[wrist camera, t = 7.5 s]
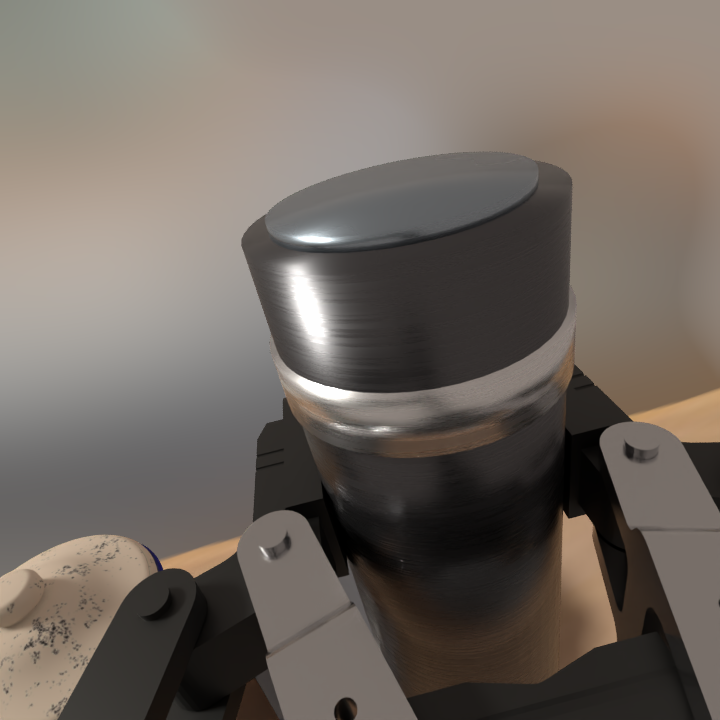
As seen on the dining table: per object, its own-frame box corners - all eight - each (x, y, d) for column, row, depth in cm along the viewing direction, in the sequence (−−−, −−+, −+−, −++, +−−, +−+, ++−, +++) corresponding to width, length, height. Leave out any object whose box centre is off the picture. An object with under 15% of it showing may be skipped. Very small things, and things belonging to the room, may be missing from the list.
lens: (481, 825, 11) (375, 288, 4) (352, 661, 14) (179, 226, 8) (598, 666, 13) (658, 140, 6) (462, 557, 17) (404, 145, 10)
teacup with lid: (231, 611, 28) (145, 466, 22) (237, 808, 20) (107, 668, 14) (17, 689, 27) (-137, 557, 21) (-63, 932, 19) (-347, 835, 13)
